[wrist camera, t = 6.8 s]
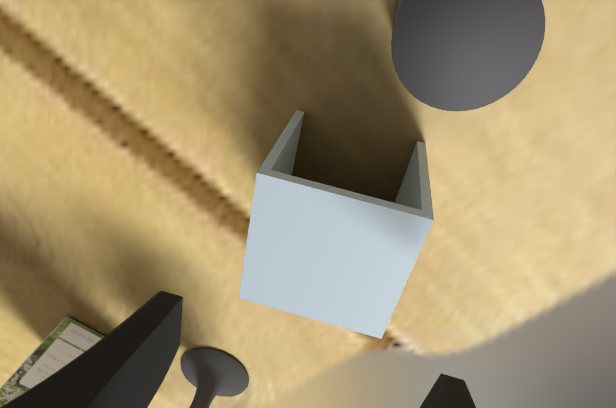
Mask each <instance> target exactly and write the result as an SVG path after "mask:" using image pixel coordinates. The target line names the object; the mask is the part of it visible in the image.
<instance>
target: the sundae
mask: <svg viewBox="0 0 616 408" xmlns="http://www.w3.org/2000/svg"><path fill="white" fill-rule="evenodd" d="M181 369H182V372H183V374H184V376H185V377H186V379H187V380H188V381H189V382H190V383H192V384H193V385H194V386H195V387H197V390H196V394H195V397H194V400H193V402H192V404H191V406H190V408H209V406H210V404H211V402H212V400H213V399H214V397H215V396H216V395H217V396H235V395H238V394H240V393H242V392H243V391H244V390H245V389H246V388H247V387H248V383H249V377H248V375H247V372H246V370H245V368H244V367H243V366H242V365H241V364H240V363H239V362H238V361H237V360H236V359H235V358H233V357H231V356H230V355H228V354H226V353H224V352H221V351H218V350H215V349H210V348H197V349H194V350H191V351H188V352H186V353H185V354H184V356H183V357H182V359H181Z"/></svg>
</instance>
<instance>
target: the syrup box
mask: <svg viewBox="0 0 616 408" xmlns="http://www.w3.org/2000/svg"><path fill="white" fill-rule="evenodd" d="M103 337H105V336H104V335H102V334H100V333H98V332H96V331H94V330H92V329H90V328H88V327H86V326H84V325H82V324H81V323H79V322H77V321H75V320H73V319H71V318H69V317H65V318H64V319H63V320H62V321H61V322H60V323H59V324H58V325H57V327H56V328H55V329H54V330H53V331H52V332H51V333H50V334H49V335H48V336H47V338H46V339H45V340H44V341H43V342H42V343H41V344H40V345H39V346H38V347H37V349H36V350H35V351H34V352H33V353H32V354H31V355H30V356H29V357H28V358H27V359H26V360H25V361H24V362H23V364H22V365H21V366H20V367H19V368H18V369H17V370H16V371H15V373H14V374H13V375H12V376H11V377H10V378H9V379H8V380H7V382H6V383H5V384H4V385H3V386H2V387H1V388H0V407H1V406H3V405H5V404H6V403H8V402H10V401H11V400H13V399H15V398H16V397H18V396H19V395H21V394H23V393H24V392H26V391H28V390H29V389H31V388H32V387H34V386H35V385H37V384H39V383H40V382H42V381H43V380H45V379H46V378H48V377H49V376H51V375H52V374H54V373H55V372H57V371H58V370H59V369H61V368H62V367H64V366H65V365H67V364H68V363H69V362H71V361H72V360H74V359H75V358H76V357H78V356H79V355H81V354H82V353H84V352H85V351H86V350H88V349H89V348H90V347H92V346H93V345H94V344H96V343H97V342H98V341H99V340H101V339H102V338H103Z"/></svg>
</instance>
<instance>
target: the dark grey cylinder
mask: <svg viewBox="0 0 616 408" xmlns="http://www.w3.org/2000/svg"><path fill="white" fill-rule="evenodd" d="M544 32H545V14H544V7H543V4H542V0H398V2H397V5H396V10H395V17H394V25H393V33H392V42H391V45H392V58H393V63H394V66H395V70H396V72H397V74H398V77H399V79H400V80H401V82H402V83H403V85H404V86H405V87H406V89H407V90H408V91H409V92H410V93H411V94H412V95H413V96H414V97H415V98H417V99H418V100H420V101H421V102H423V103H425V104H427V105H429V106H431V107H434V108H437V109H442V110H447V111H466V110H472V109H477V108H480V107H483V106H486V105H488V104H491V103H493V102H495V101H497V100H499V99H500V98H502V97H503V96H505V95H506V94H508V93H509V92H510V91H512V90H513V89H514V88H515V87H516V86H517V85H518V84H519V83H520V82H521V81H522V80H523V79H524V78H525V76H526V75H527V74H528V72H529V71H530V70H531V68H532V66H533V65H534V63H535V61H536V59H537V57H538V55H539V52H540V50H541V46H542V43H543V39H544Z"/></svg>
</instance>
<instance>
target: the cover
mask: <svg viewBox="0 0 616 408" xmlns="http://www.w3.org/2000/svg"><path fill="white" fill-rule="evenodd" d="M303 117H304V112H303V111H299V110H296V112H295V113H294V115H293V116H292V118H291V120H290V121H289V123H288V124H287V126H286V127H285V129H284V131H283V132H282V134H281V135H280V137H279V139H278V140H277V142H276V143H275V145H274V146H273V148H272V150H271V151H270V153H269V154H268V156H267V158H266V159H265V161H264V162H263V164H262V165H261V167H260V169H259V170H258V172H257V175H256V182H255V189H254V196H253V203H252V210H251V217H250V224H249V231H248V238H247V245H246V252H245V259H244V266H243V273H242V280H241V287H240V294H239V298H240V299H244V300H247V301H251V302H254V303H258V304H261V305H265V306H268V307H272V308H275V309H279V310H282V311H286V312H289V313H293V314H296V315H300V316H303V317H307V318H310V319H314V320H317V321H321V322H324V323H328V324H331V325H335V326H338V327H342V328H345V329H349V330H352V331H356V332H359V333H363V334H366V335H370V336H373V337H377V338H380V339H382V336H383V334H384V332H385V329H386V327H387V325H388V323H389V320H390V318H391V316H392V314H393V311H394V309H395V307H396V305H397V302H398V300H399V298H400V295H401V293H402V291H403V289H404V286H405V284H406V282H407V280H408V277H409V275H410V273H411V270H412V268H413V266H414V264H415V261H416V259H417V257H418V255H419V252H420V250H421V248H422V246H423V243H424V241H425V239H426V236H427V234H428V232H429V230H430V227H431V225H432V223H433V221H434V218H433V209H432V200H431V191H430V181H429V172H428V163H427V154H426V145H425V143H423V142H420V141H417V143H416V146H415V148H414V151H413V154H412V157H411V159H410V162H409V165H408V168H407V170H406V173H405V176H404V178H403V181H402V184H401V187H400V189H399V192H398V195H397V197H396V200H395V203H393V202H389V201H385V200H382V199H378V198H374V197H370V196H367V195H363V194H359V193H355V192H352V191H348V190H344V189H340V188H337V187H333V186H329V185H325V184H322V183H318V182H314V181H310V180H307V179H303V178H299V177H295V176H292V172H293V167H294V162H295V157H296V152H297V147H298V142H299V137H300V132H301V127H302V122H303Z"/></svg>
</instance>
